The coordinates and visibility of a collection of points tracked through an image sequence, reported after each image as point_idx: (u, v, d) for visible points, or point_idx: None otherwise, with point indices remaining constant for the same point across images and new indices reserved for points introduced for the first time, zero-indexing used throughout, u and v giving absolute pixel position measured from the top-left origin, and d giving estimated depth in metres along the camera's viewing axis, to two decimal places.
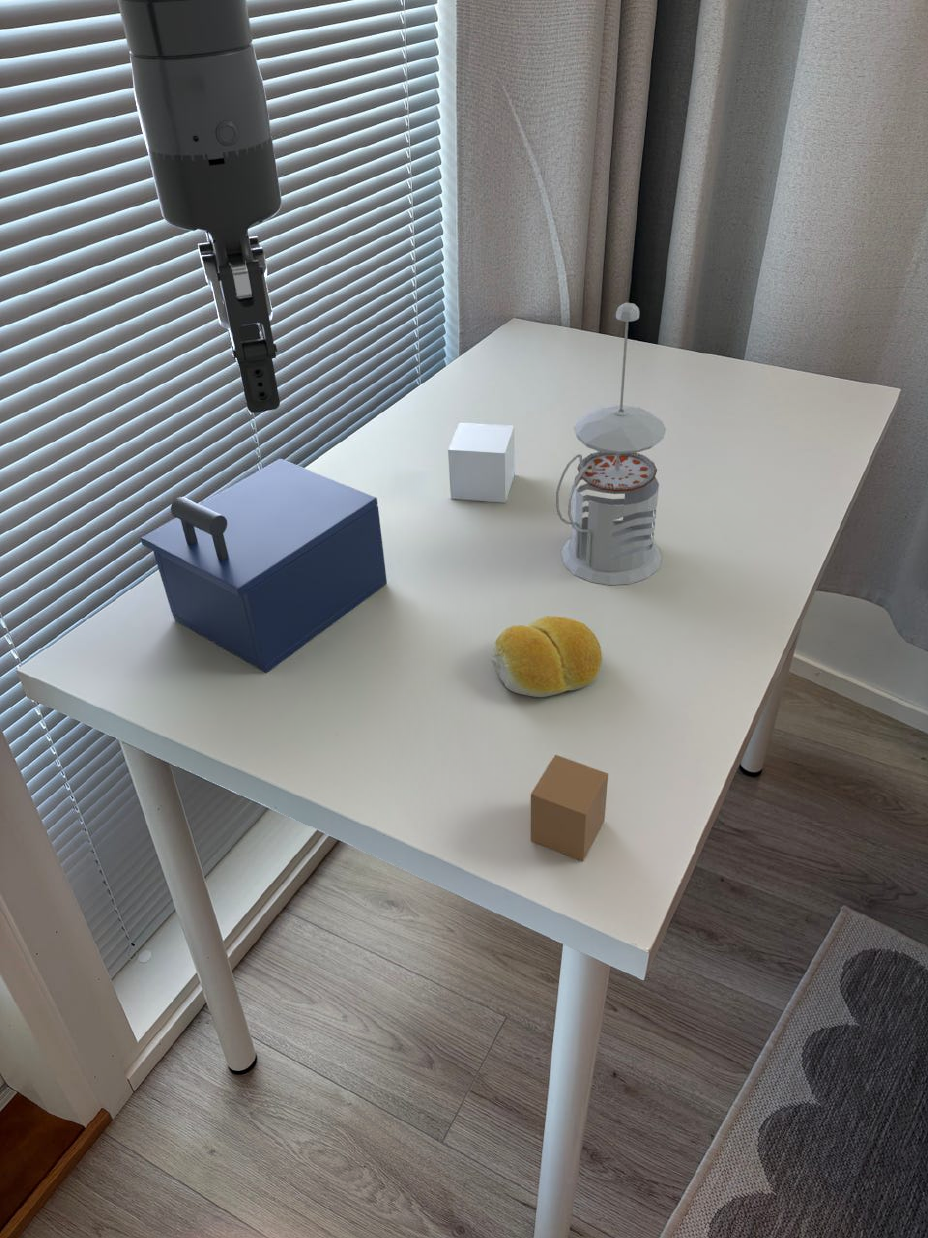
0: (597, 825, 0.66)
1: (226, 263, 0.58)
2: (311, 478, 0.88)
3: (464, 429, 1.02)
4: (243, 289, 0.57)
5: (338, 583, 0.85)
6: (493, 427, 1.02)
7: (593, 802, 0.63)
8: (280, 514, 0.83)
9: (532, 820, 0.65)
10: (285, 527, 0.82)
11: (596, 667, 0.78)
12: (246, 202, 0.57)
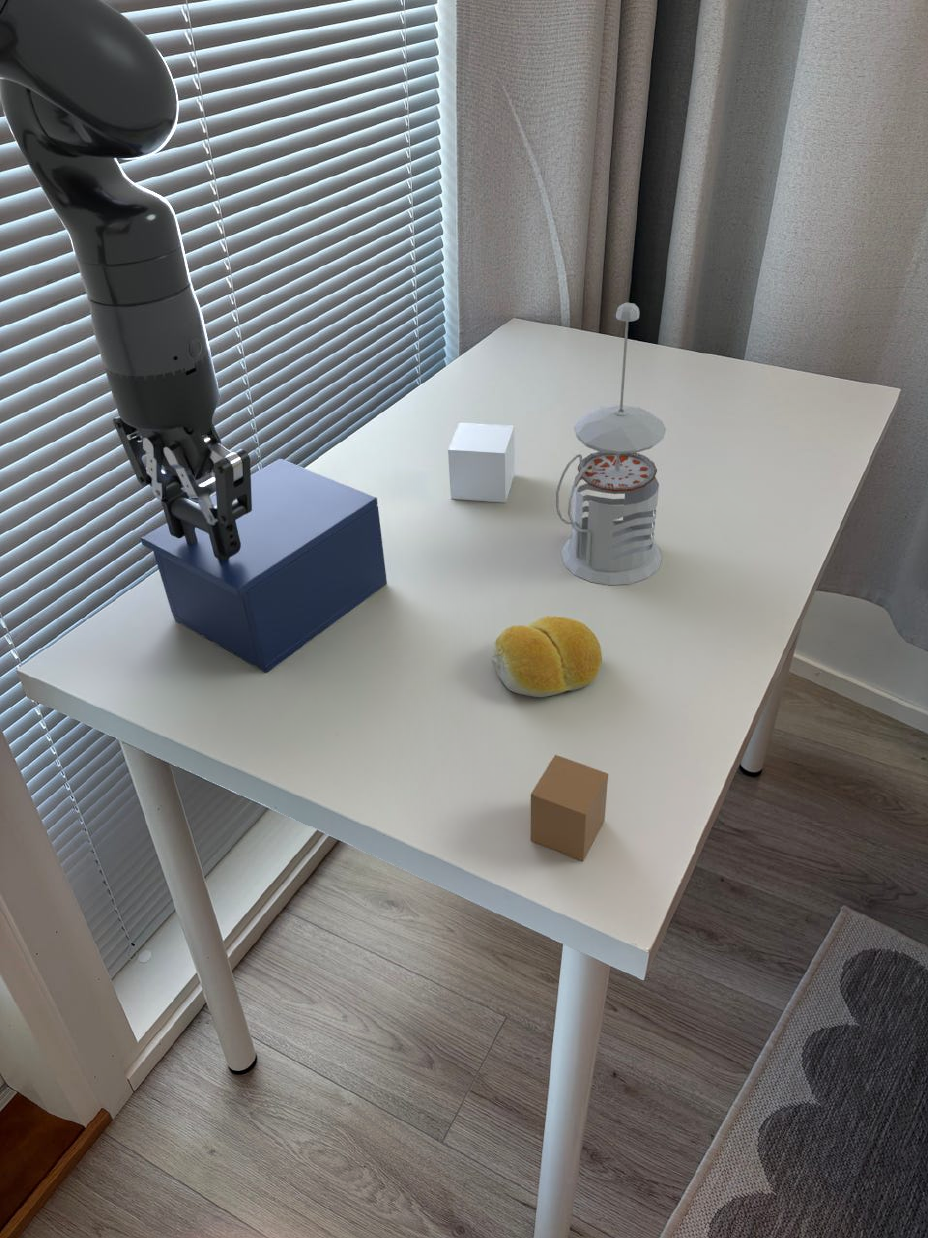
0: (597, 825, 0.66)
1: (207, 451, 0.70)
2: (311, 478, 0.88)
3: (464, 429, 1.02)
4: (238, 475, 0.70)
5: (338, 583, 0.85)
6: (493, 427, 1.02)
7: (593, 802, 0.63)
8: (280, 514, 0.83)
9: (532, 820, 0.65)
10: (285, 527, 0.82)
11: (596, 667, 0.78)
12: (210, 396, 0.69)
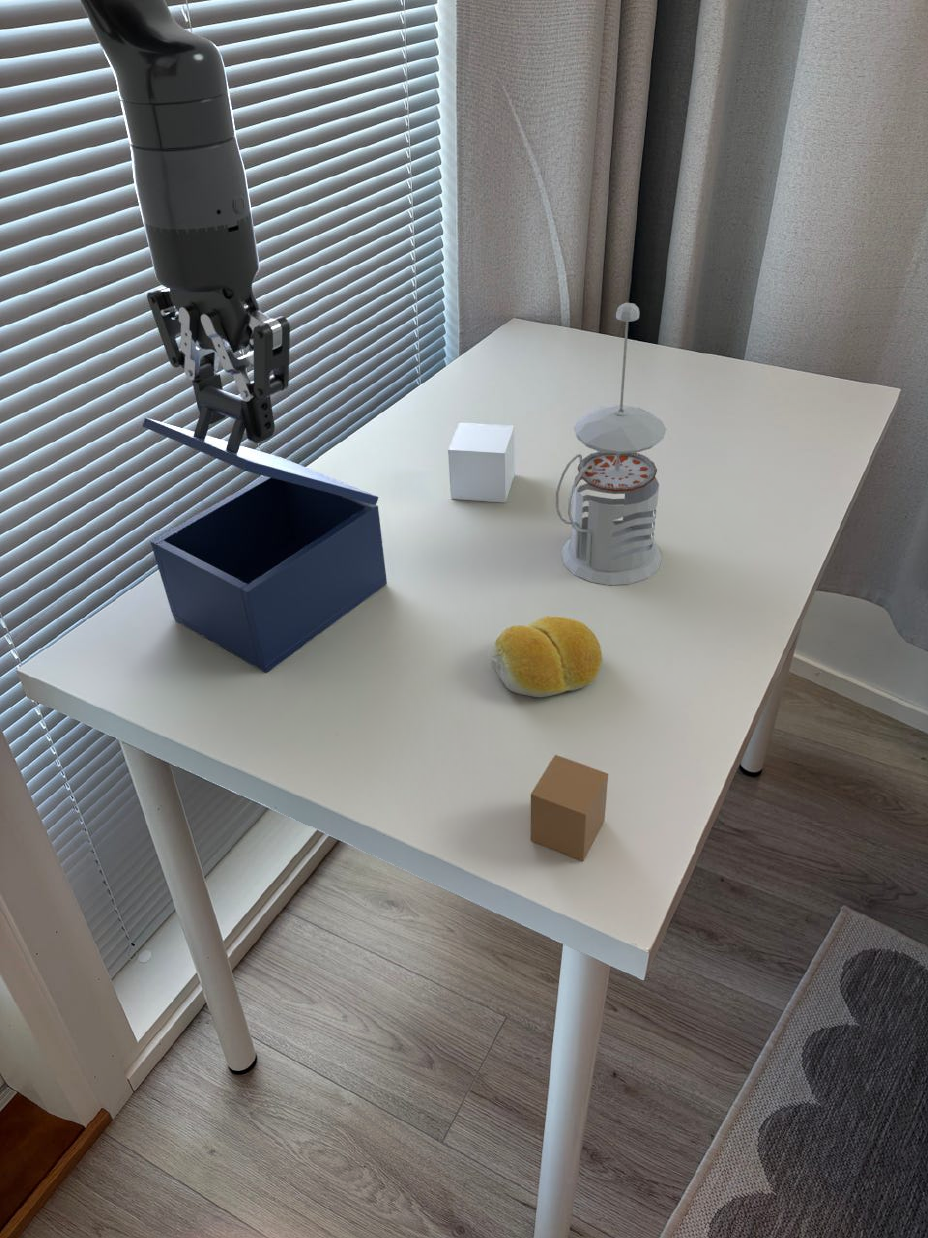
0: (597, 825, 0.66)
1: (246, 317, 0.68)
2: (314, 471, 0.88)
3: (464, 429, 1.02)
4: (277, 342, 0.69)
5: (338, 583, 0.85)
6: (493, 427, 1.02)
7: (593, 802, 0.63)
8: (286, 465, 0.82)
9: (532, 820, 0.65)
10: (292, 469, 0.80)
11: (596, 667, 0.78)
12: (251, 259, 0.68)
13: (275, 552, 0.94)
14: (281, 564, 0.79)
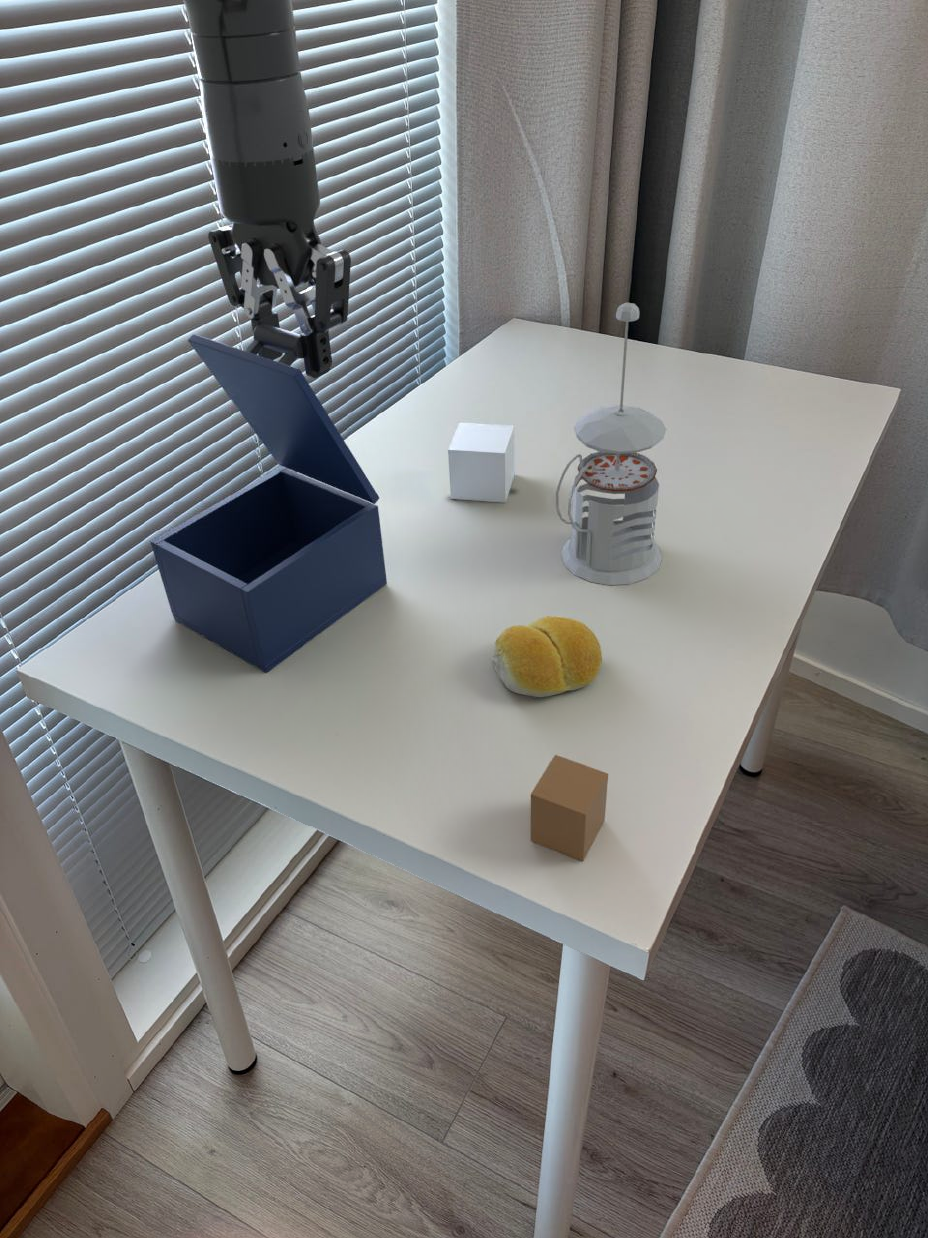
0: (597, 825, 0.66)
1: (308, 251, 0.71)
2: None
3: (464, 429, 1.02)
4: (339, 275, 0.71)
5: (338, 583, 0.85)
6: (493, 427, 1.02)
7: (593, 802, 0.63)
8: None
9: (532, 820, 0.65)
10: None
11: (596, 667, 0.78)
12: (313, 194, 0.70)
13: (275, 552, 0.94)
14: (281, 564, 0.79)
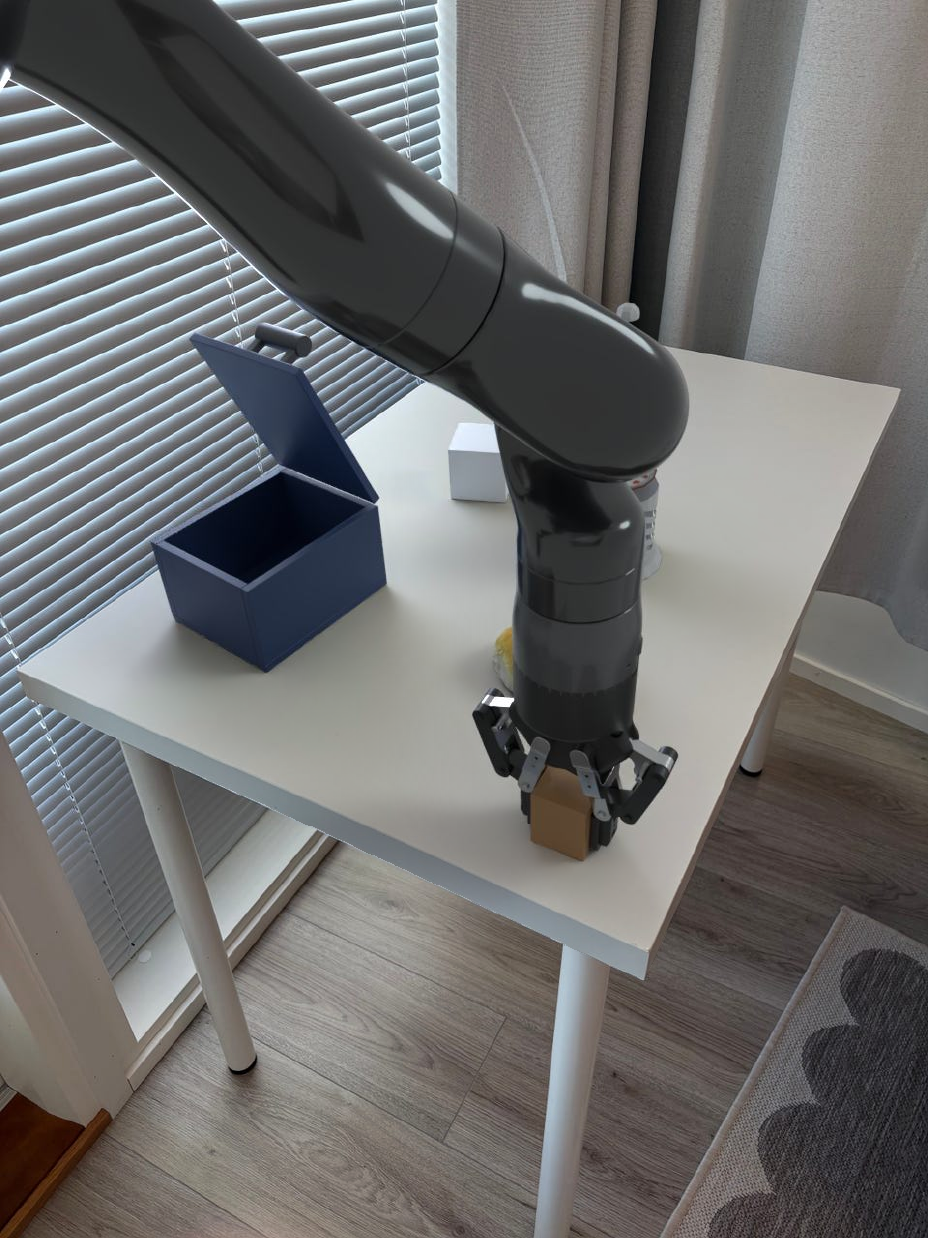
0: None
1: (631, 754, 0.59)
2: None
3: (464, 429, 1.02)
4: None
5: (338, 583, 0.85)
6: (493, 427, 1.02)
7: None
8: None
9: (532, 820, 0.65)
10: None
11: None
12: None
13: (275, 552, 0.94)
14: (281, 564, 0.79)
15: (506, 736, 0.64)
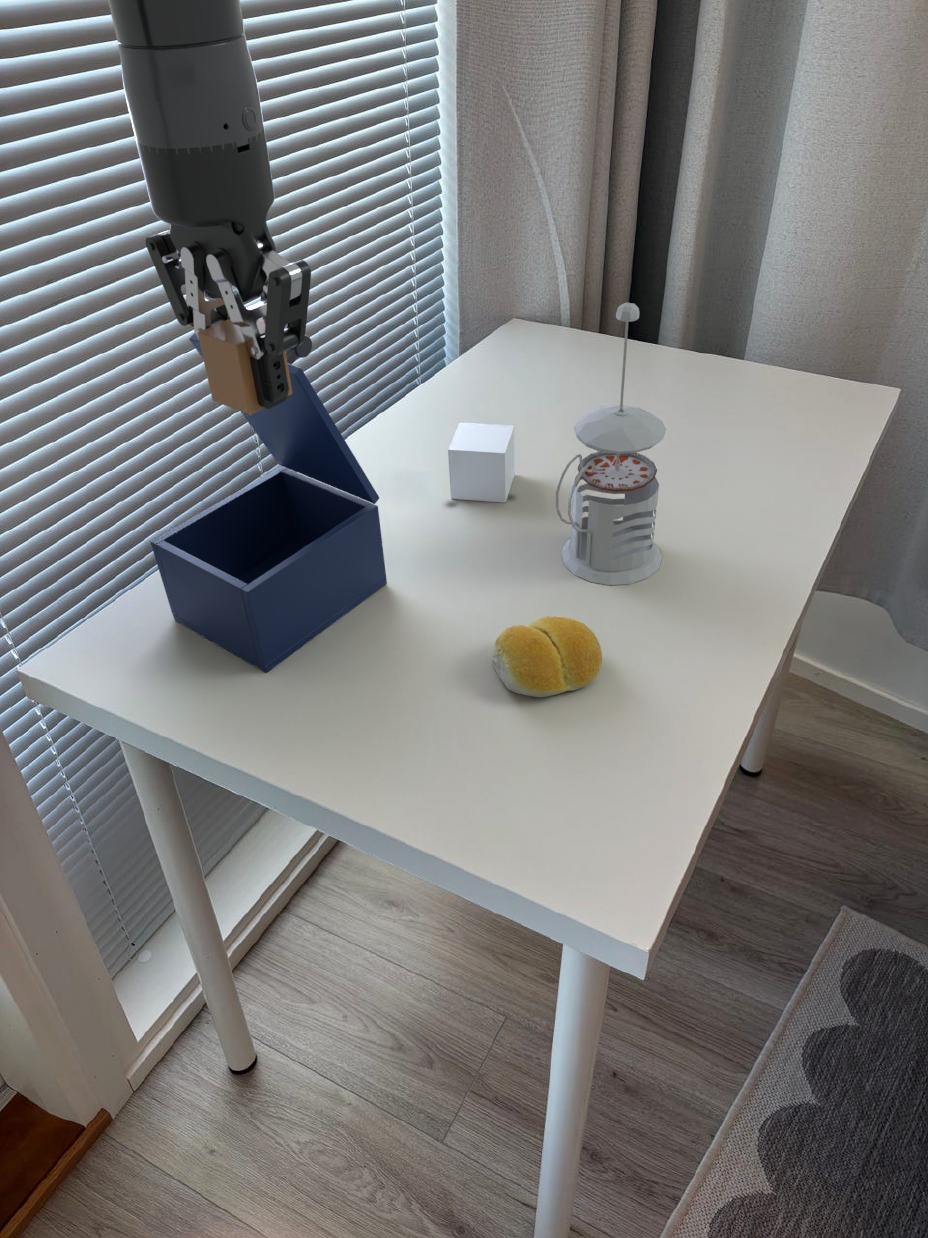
0: None
1: (259, 259, 0.58)
2: None
3: (464, 429, 1.02)
4: (296, 291, 0.58)
5: (338, 583, 0.85)
6: (493, 427, 1.02)
7: None
8: None
9: (206, 370, 0.65)
10: None
11: (596, 667, 0.78)
12: (265, 187, 0.57)
13: (275, 552, 0.94)
14: (281, 564, 0.79)
15: (185, 278, 0.65)
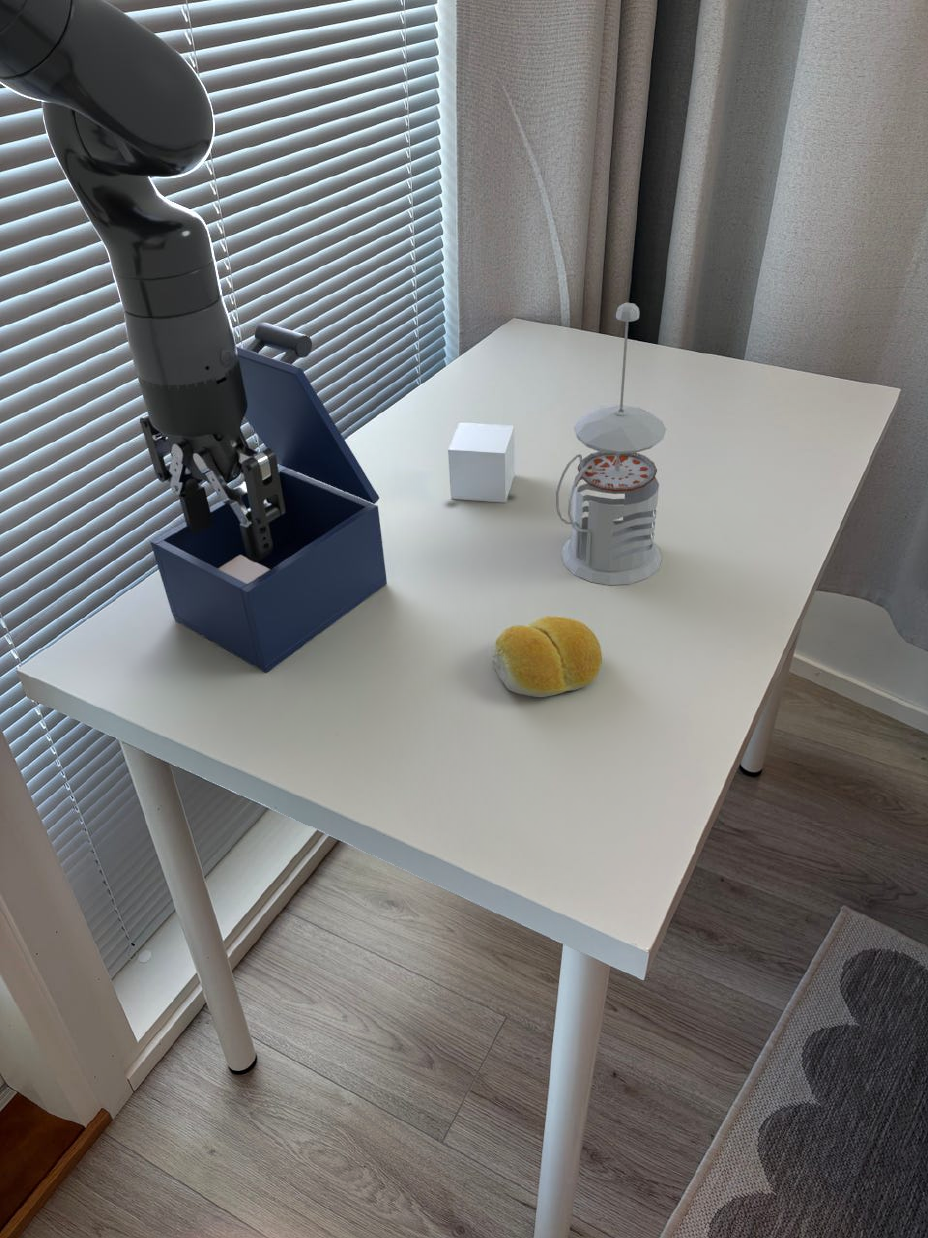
0: None
1: (235, 455, 0.72)
2: None
3: (464, 429, 1.02)
4: (266, 473, 0.72)
5: (338, 583, 0.85)
6: (493, 427, 1.02)
7: None
8: None
9: None
10: None
11: (596, 667, 0.78)
12: (239, 404, 0.72)
13: (275, 552, 0.94)
14: (281, 564, 0.79)
15: (168, 448, 0.79)
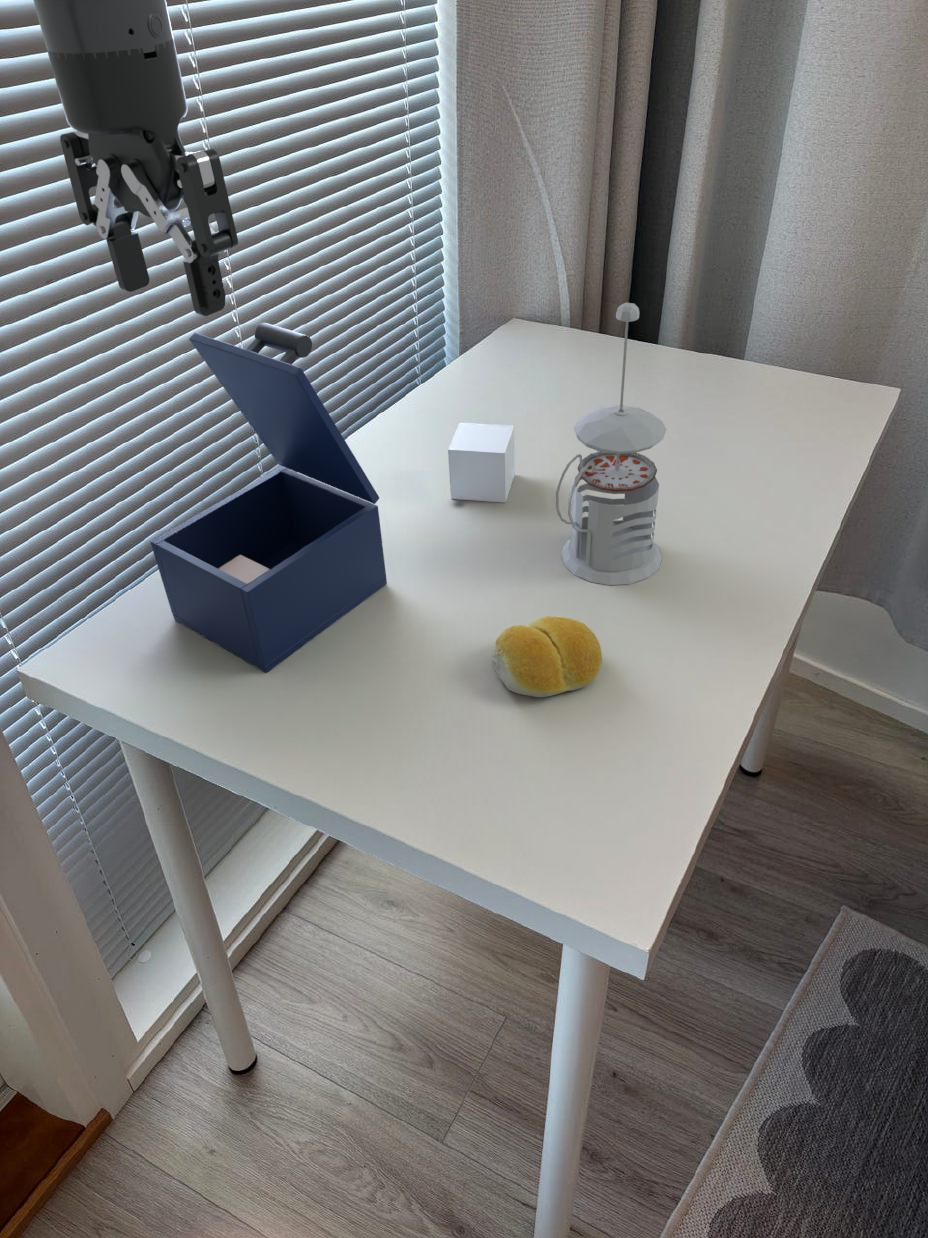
0: None
1: (170, 160, 0.59)
2: None
3: (464, 429, 1.02)
4: (208, 177, 0.59)
5: (338, 583, 0.85)
6: (493, 427, 1.02)
7: None
8: None
9: None
10: None
11: (596, 667, 0.78)
12: (175, 97, 0.59)
13: (275, 552, 0.94)
14: (281, 564, 0.79)
15: (94, 181, 0.66)
